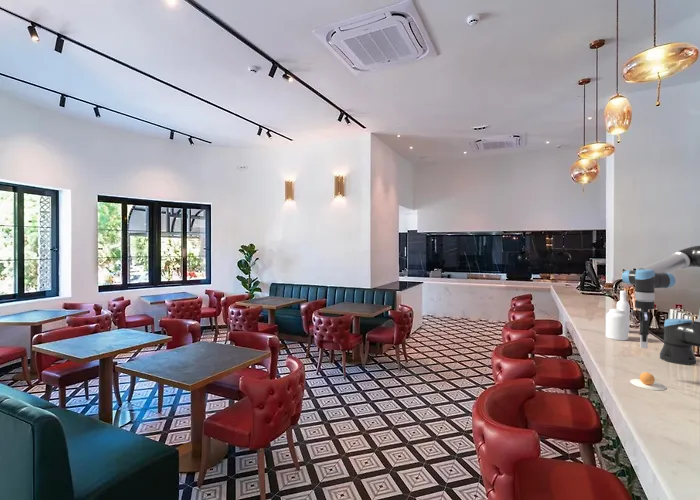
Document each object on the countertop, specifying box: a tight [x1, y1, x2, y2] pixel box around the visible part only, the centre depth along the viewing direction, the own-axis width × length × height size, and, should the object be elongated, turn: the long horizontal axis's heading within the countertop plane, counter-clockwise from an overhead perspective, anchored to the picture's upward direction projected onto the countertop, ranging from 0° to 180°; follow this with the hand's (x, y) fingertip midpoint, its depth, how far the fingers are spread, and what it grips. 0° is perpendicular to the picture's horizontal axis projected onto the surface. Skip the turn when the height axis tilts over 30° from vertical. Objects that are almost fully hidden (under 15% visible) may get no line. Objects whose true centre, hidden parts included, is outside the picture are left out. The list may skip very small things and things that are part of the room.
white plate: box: [629, 378, 667, 391], centre depth 169 cm, size 13×13×1 cm
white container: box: [605, 308, 629, 341], centre depth 248 cm, size 12×12×20 cm
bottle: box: [615, 290, 631, 334], centre depth 265 cm, size 8×8×30 cm
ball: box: [639, 371, 656, 385], centre depth 169 cm, size 6×6×6 cm
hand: (643, 347), depth 180 cm, fingers closed
